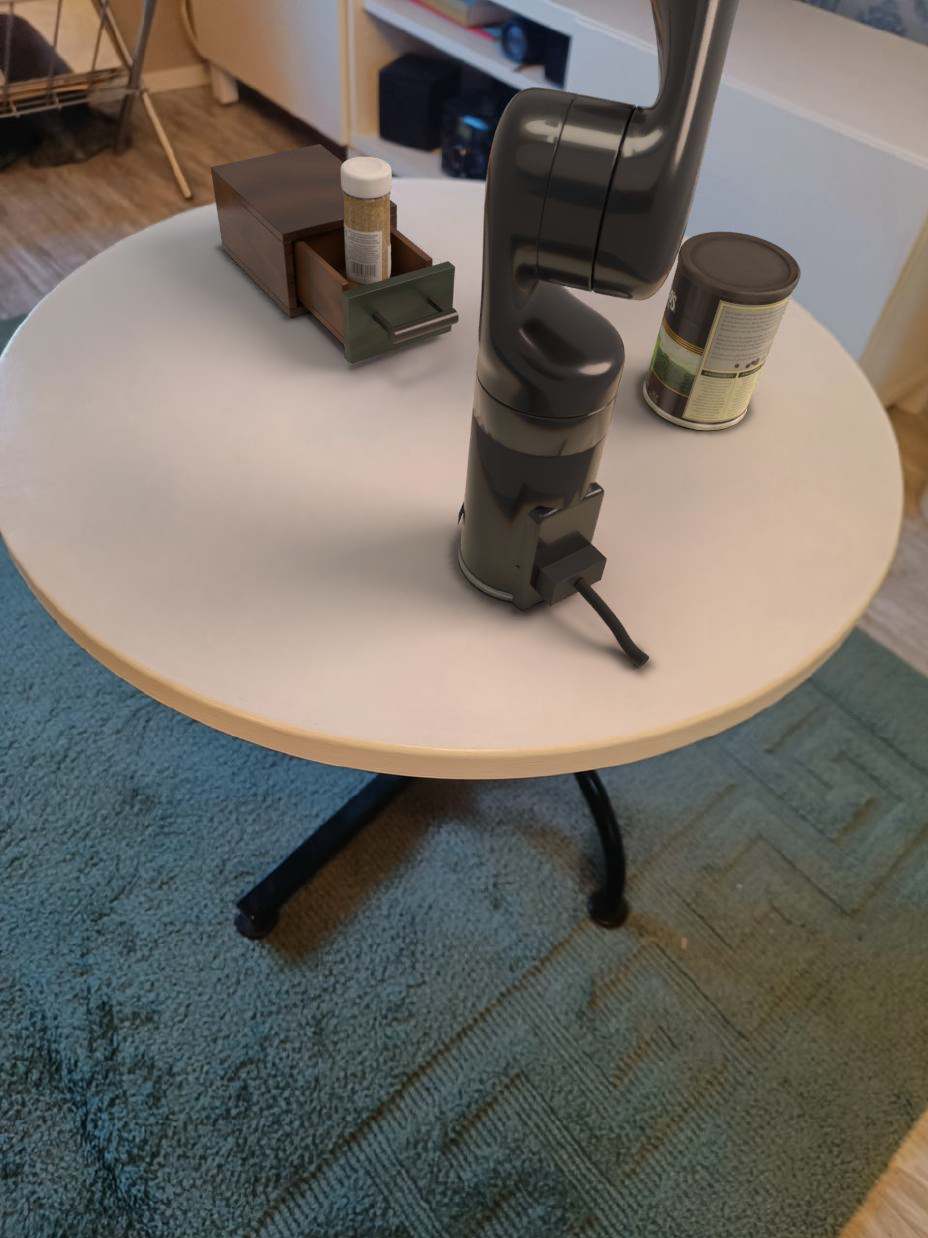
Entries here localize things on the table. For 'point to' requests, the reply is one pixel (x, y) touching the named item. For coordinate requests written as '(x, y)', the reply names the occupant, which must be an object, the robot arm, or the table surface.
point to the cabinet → (278, 213)
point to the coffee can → (718, 328)
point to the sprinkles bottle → (366, 220)
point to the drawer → (374, 295)
